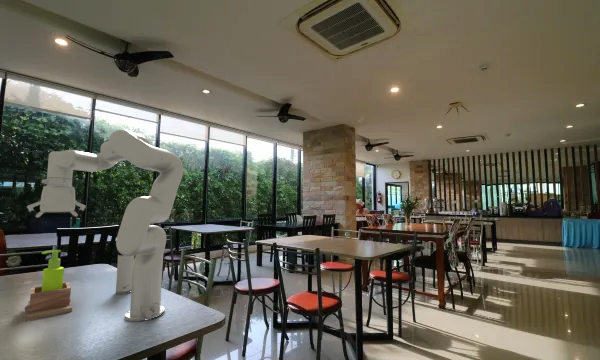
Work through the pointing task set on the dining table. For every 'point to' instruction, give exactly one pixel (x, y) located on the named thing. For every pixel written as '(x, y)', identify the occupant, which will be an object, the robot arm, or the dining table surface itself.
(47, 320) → the dining table surface
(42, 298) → the socket caddy
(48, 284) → the soap dispenser
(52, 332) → the dining table surface
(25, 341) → the dining table surface
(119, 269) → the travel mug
